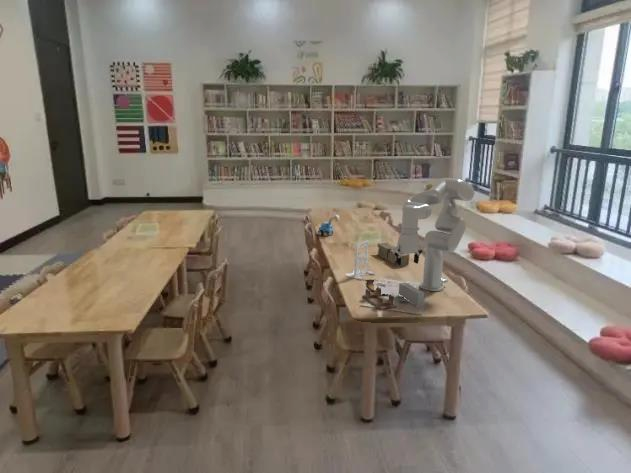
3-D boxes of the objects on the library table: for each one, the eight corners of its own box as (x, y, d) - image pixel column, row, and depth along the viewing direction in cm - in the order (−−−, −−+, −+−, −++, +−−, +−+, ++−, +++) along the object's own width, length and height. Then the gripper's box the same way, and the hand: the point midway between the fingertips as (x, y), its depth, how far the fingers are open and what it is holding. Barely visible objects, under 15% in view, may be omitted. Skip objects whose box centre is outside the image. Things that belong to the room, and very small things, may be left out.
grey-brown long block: (409, 267, 288) (387, 253, 314) (410, 254, 286) (388, 241, 312) (398, 268, 286) (376, 254, 312) (399, 255, 283) (377, 242, 309)
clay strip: (404, 294, 241) (404, 282, 239) (423, 306, 227) (424, 292, 225) (398, 295, 240) (399, 283, 238) (417, 307, 226) (418, 293, 224)
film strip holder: (355, 269, 279) (356, 237, 274) (375, 274, 272) (377, 241, 266) (342, 275, 268) (344, 242, 263) (363, 280, 260) (365, 246, 255)
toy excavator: (334, 238, 349) (335, 216, 345) (316, 235, 358) (316, 213, 353) (340, 236, 356) (341, 214, 352) (322, 233, 365) (322, 211, 360)
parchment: (394, 296, 239) (394, 294, 239) (377, 297, 237) (377, 295, 237) (377, 280, 263) (377, 279, 262) (361, 281, 260) (361, 279, 260)
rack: (376, 294, 240) (376, 285, 239) (396, 307, 225) (397, 297, 223) (362, 297, 237) (362, 287, 235) (381, 310, 221) (382, 300, 220)
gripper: (420, 227, 230) (418, 259, 235) (389, 230, 225) (388, 263, 229) (429, 231, 223) (426, 264, 228) (397, 233, 218) (395, 268, 222)
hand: (407, 263), depth 229 cm, fingers open, 9 cm apart
